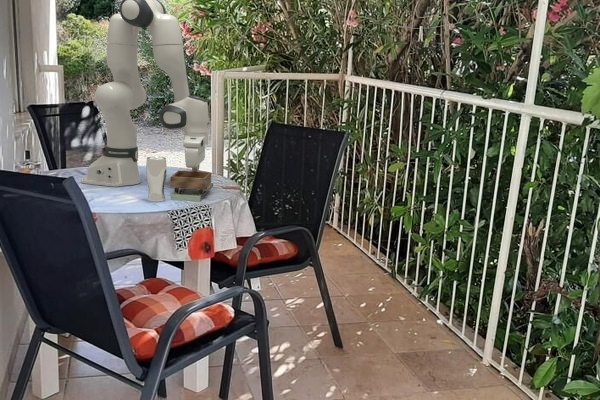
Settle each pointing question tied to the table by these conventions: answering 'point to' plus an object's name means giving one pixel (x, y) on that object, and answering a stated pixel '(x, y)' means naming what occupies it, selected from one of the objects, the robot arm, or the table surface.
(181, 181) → the tray
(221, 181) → the table surface
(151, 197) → the beer glass
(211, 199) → the table surface
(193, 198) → the track
